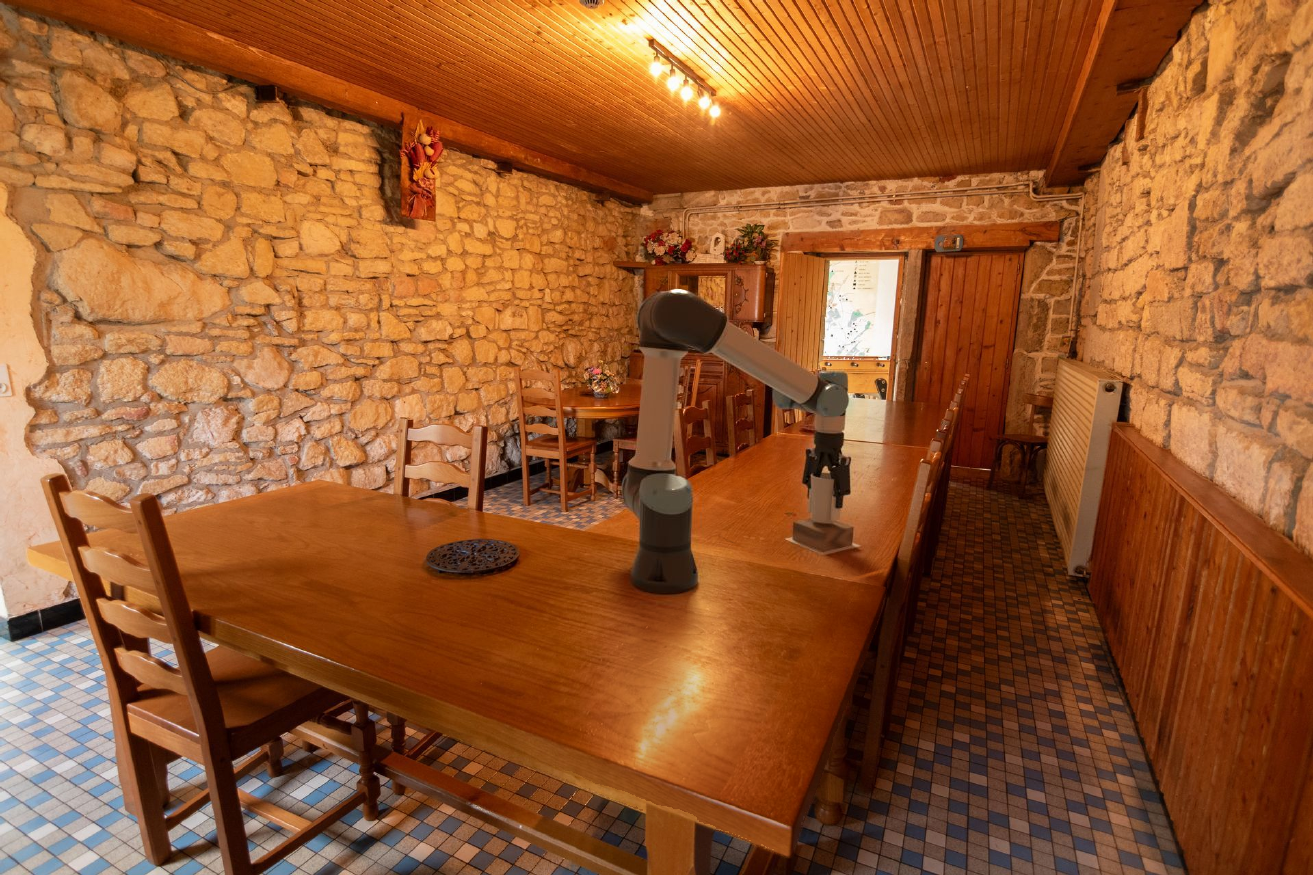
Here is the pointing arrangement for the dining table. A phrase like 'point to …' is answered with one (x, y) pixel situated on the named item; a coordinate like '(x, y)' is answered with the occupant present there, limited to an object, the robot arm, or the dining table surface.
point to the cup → (822, 498)
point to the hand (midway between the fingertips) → (823, 515)
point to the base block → (822, 534)
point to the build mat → (825, 551)
